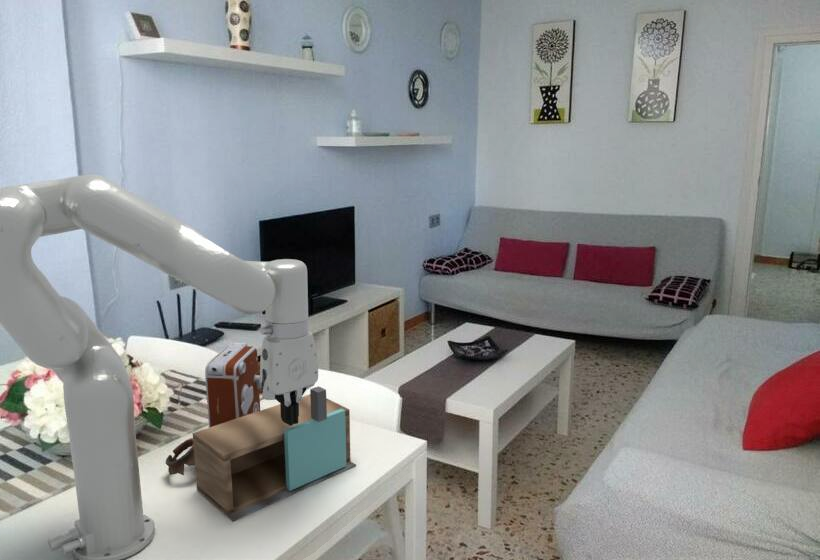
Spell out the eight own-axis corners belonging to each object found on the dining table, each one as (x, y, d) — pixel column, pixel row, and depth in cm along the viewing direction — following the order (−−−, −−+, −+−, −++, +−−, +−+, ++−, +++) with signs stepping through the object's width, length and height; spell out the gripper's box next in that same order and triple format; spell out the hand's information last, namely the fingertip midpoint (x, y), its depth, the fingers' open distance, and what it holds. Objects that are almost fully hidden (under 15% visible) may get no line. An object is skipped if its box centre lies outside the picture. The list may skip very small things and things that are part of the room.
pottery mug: (213, 490, 123) (187, 459, 120) (177, 502, 126) (151, 472, 124) (238, 447, 133) (215, 418, 131) (204, 459, 137) (181, 431, 134)
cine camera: (273, 414, 155) (269, 336, 151) (245, 452, 137) (240, 364, 132) (237, 412, 156) (232, 334, 152) (204, 450, 137) (198, 362, 133)
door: (291, 492, 120) (288, 402, 116) (284, 487, 122) (280, 398, 117) (348, 466, 129) (346, 383, 125) (340, 462, 131) (339, 379, 127)
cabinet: (232, 521, 112) (228, 459, 109) (196, 490, 122) (192, 433, 119) (355, 466, 131) (355, 412, 128) (316, 443, 141) (314, 392, 138)
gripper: (262, 341, 107) (266, 441, 111) (333, 324, 117) (334, 417, 121) (239, 331, 112) (243, 427, 116) (309, 316, 122) (311, 405, 126)
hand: (290, 422), depth 118 cm, fingers closed
